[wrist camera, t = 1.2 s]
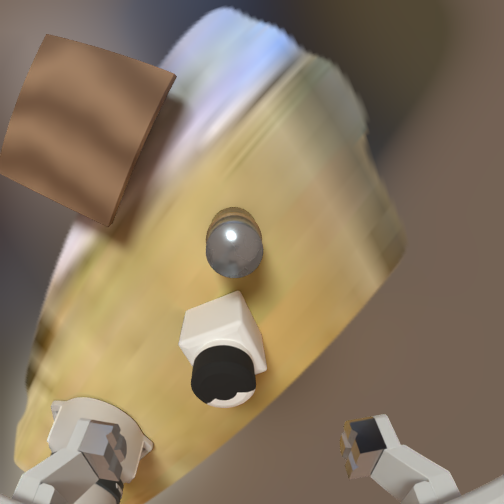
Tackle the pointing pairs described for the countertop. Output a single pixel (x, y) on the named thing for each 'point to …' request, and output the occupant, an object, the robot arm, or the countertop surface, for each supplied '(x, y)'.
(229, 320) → the medicine bottle
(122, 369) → the countertop surface
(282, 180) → the countertop surface
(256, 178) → the countertop surface
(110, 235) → the countertop surface
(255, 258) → the grey metal cylinder
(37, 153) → the walnut stand
